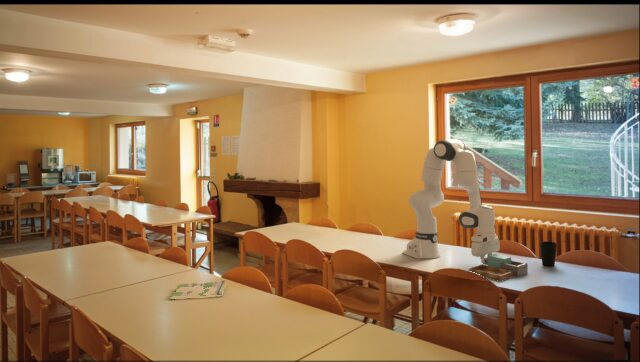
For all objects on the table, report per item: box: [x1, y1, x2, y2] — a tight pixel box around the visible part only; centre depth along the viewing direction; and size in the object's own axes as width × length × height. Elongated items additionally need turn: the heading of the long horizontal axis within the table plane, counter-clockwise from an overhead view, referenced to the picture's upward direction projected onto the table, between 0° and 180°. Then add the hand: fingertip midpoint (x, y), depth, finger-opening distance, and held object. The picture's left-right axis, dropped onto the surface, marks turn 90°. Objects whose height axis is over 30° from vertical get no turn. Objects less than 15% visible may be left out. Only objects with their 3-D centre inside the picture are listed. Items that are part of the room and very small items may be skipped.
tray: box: [468, 263, 515, 282], centre depth 209 cm, size 17×11×2 cm, turn 35°
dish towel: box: [170, 279, 227, 297], centre depth 196 cm, size 17×23×4 cm
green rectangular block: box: [482, 253, 512, 268], centre depth 218 cm, size 13×6×7 cm, turn 35°
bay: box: [500, 259, 529, 278], centre depth 211 cm, size 9×9×5 cm
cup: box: [540, 241, 558, 268], centre depth 221 cm, size 8×8×12 cm
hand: (486, 262), depth 223 cm, fingers closed on green rectangular block, 3 cm apart
